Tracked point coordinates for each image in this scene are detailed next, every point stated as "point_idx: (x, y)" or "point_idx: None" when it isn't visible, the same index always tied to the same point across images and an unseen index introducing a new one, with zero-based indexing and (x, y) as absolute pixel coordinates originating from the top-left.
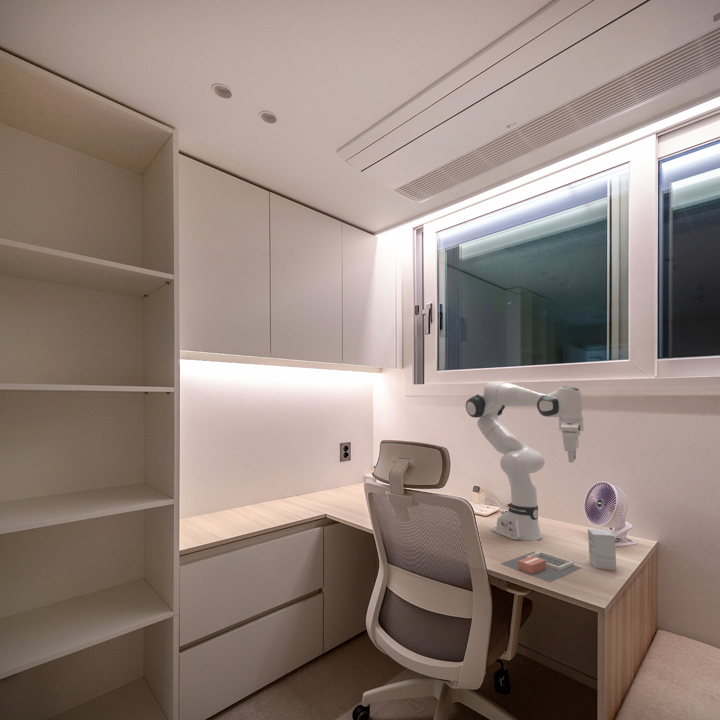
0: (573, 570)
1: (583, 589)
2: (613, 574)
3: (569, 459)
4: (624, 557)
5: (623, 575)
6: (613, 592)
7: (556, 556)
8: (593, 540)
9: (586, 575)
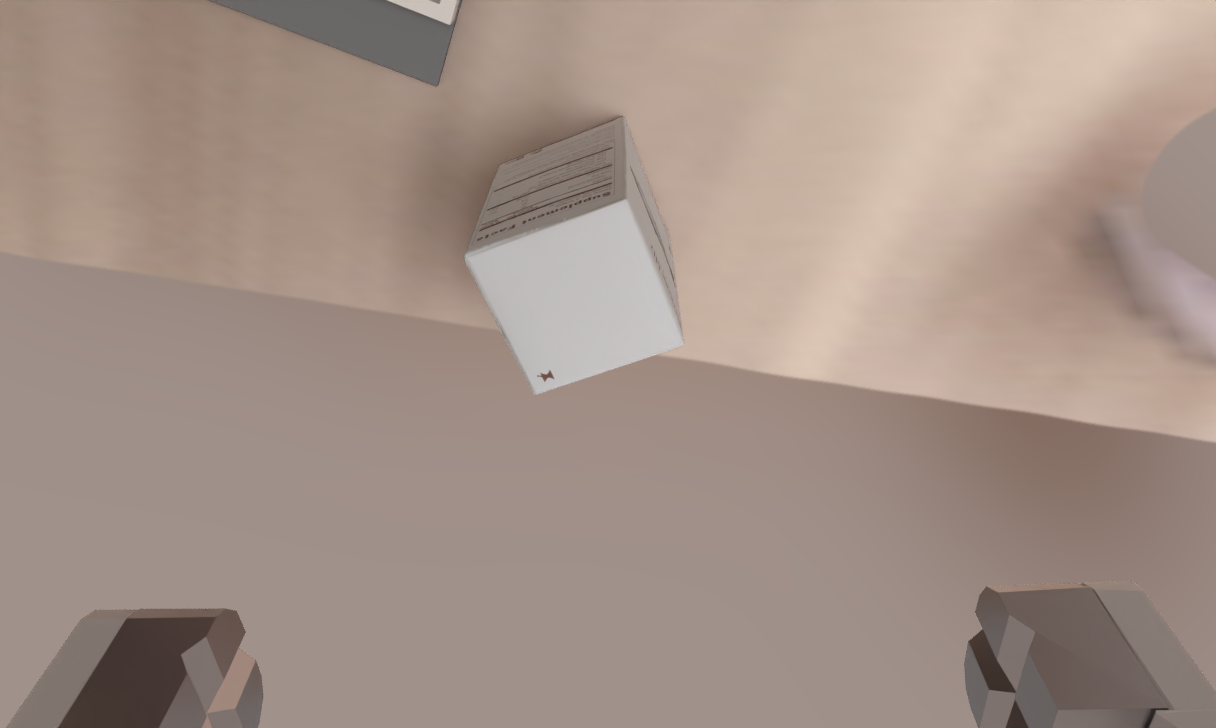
0: (335, 35)
1: (74, 128)
2: None
3: (47, 698)
4: (858, 309)
5: None
6: (174, 276)
7: None
8: (476, 232)
9: (331, 121)
